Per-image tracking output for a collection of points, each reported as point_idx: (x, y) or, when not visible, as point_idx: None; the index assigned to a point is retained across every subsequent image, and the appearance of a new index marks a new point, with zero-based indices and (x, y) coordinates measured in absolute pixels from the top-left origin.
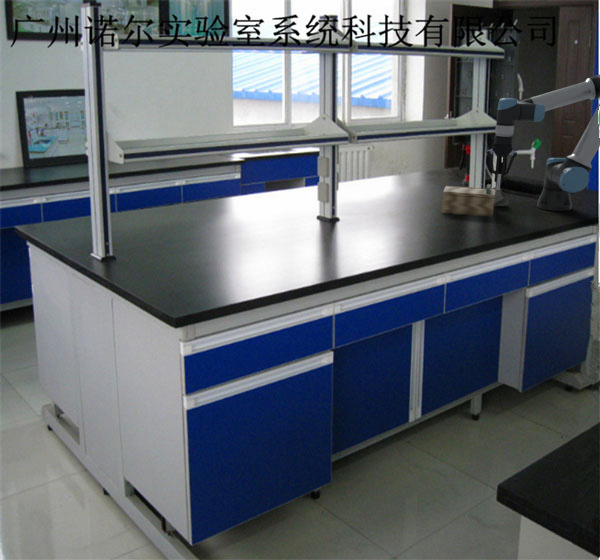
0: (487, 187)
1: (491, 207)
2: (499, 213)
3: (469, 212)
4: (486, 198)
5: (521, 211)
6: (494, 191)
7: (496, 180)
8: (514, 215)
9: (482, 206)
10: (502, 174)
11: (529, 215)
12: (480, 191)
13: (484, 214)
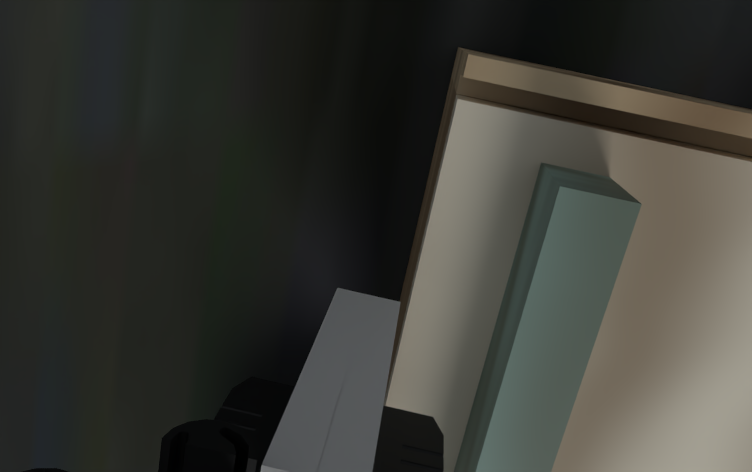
0: (595, 285)
1: (489, 55)
2: (341, 237)
3: (746, 108)
4: (600, 80)
5: (99, 351)
6: (399, 398)
7: (392, 429)
8: (190, 161)
9: (616, 82)
10: (217, 445)
11: (32, 183)
12: (652, 373)
13: (557, 68)
